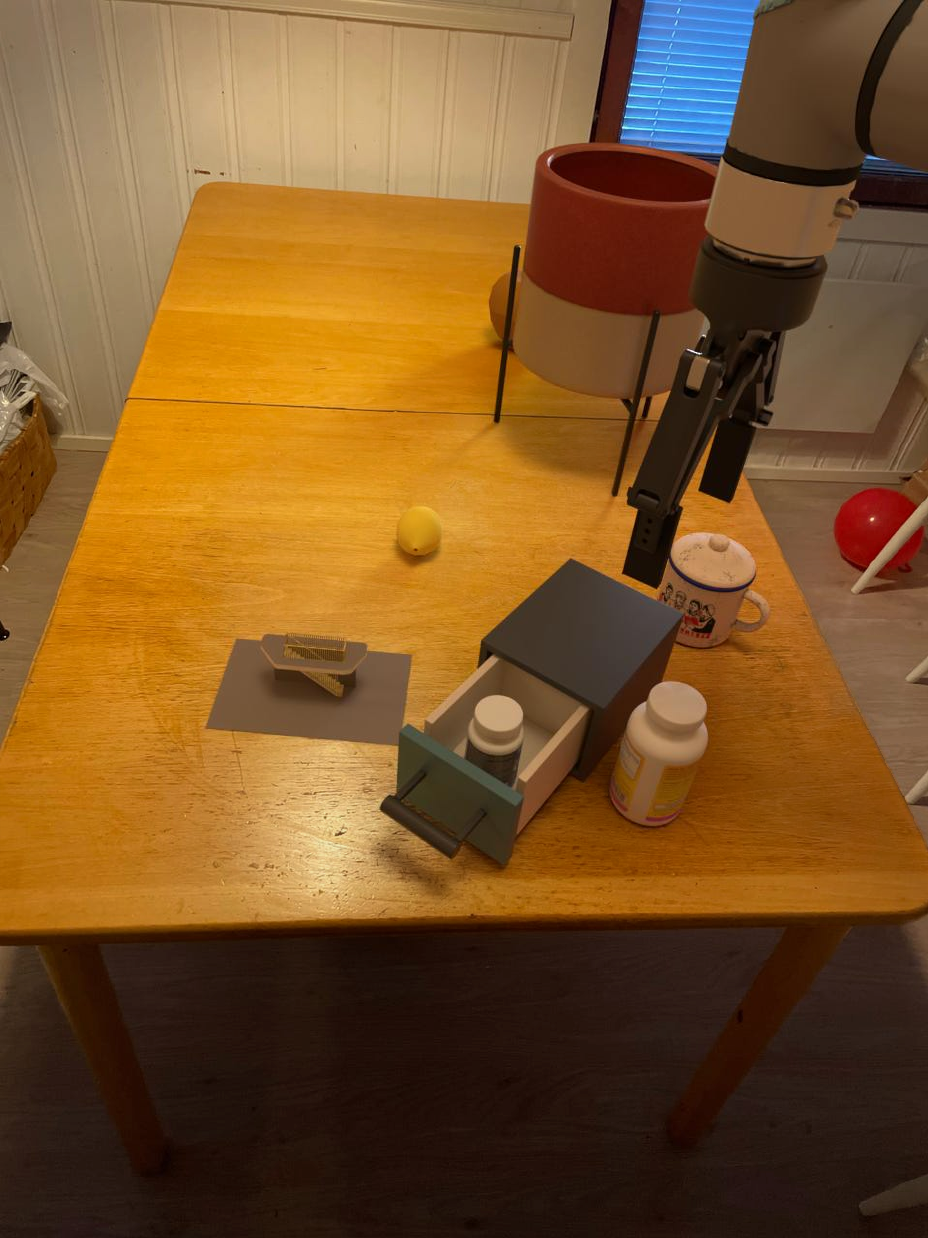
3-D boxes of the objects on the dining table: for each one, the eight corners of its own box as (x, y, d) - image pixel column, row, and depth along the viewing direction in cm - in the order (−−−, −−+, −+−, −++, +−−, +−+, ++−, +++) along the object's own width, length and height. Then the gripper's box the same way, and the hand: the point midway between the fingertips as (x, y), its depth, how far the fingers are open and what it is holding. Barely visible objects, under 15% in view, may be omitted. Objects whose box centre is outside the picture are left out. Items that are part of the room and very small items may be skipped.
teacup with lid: (635, 622, 97) (659, 537, 89) (675, 584, 102) (702, 501, 94) (733, 677, 92) (768, 593, 84) (770, 634, 97) (806, 551, 89)
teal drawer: (468, 910, 69) (478, 851, 63) (357, 831, 73) (357, 769, 68) (591, 758, 81) (609, 697, 75) (490, 698, 85) (499, 636, 80)
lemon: (400, 528, 106) (402, 491, 102) (445, 535, 106) (448, 497, 102) (390, 565, 101) (391, 527, 97) (436, 571, 100) (439, 533, 97)
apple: (472, 331, 148) (478, 262, 140) (539, 322, 152) (549, 255, 145) (507, 366, 139) (515, 295, 132) (577, 355, 144) (589, 286, 136)
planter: (527, 500, 112) (572, 209, 88) (485, 402, 130) (513, 138, 106) (697, 492, 117) (784, 213, 93) (634, 398, 135) (693, 144, 111)
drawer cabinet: (583, 783, 80) (604, 708, 73) (471, 715, 85) (480, 639, 78) (659, 686, 90) (684, 613, 83) (555, 631, 95) (570, 557, 88)
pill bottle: (521, 795, 76) (534, 732, 70) (467, 801, 75) (476, 738, 69) (508, 752, 79) (520, 688, 74) (457, 757, 78) (465, 693, 73)
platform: (399, 745, 81) (402, 697, 77) (205, 727, 81) (196, 678, 77) (412, 654, 90) (414, 607, 86) (236, 638, 90) (230, 589, 85)
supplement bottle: (691, 789, 80) (731, 694, 72) (665, 842, 76) (705, 747, 67) (624, 757, 83) (655, 660, 74) (595, 806, 78) (624, 709, 69)
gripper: (751, 329, 43) (655, 645, 57) (884, 212, 59) (783, 482, 73) (613, 285, 45) (555, 597, 60) (776, 185, 61) (699, 450, 76)
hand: (680, 534), depth 66 cm, fingers open, 13 cm apart
